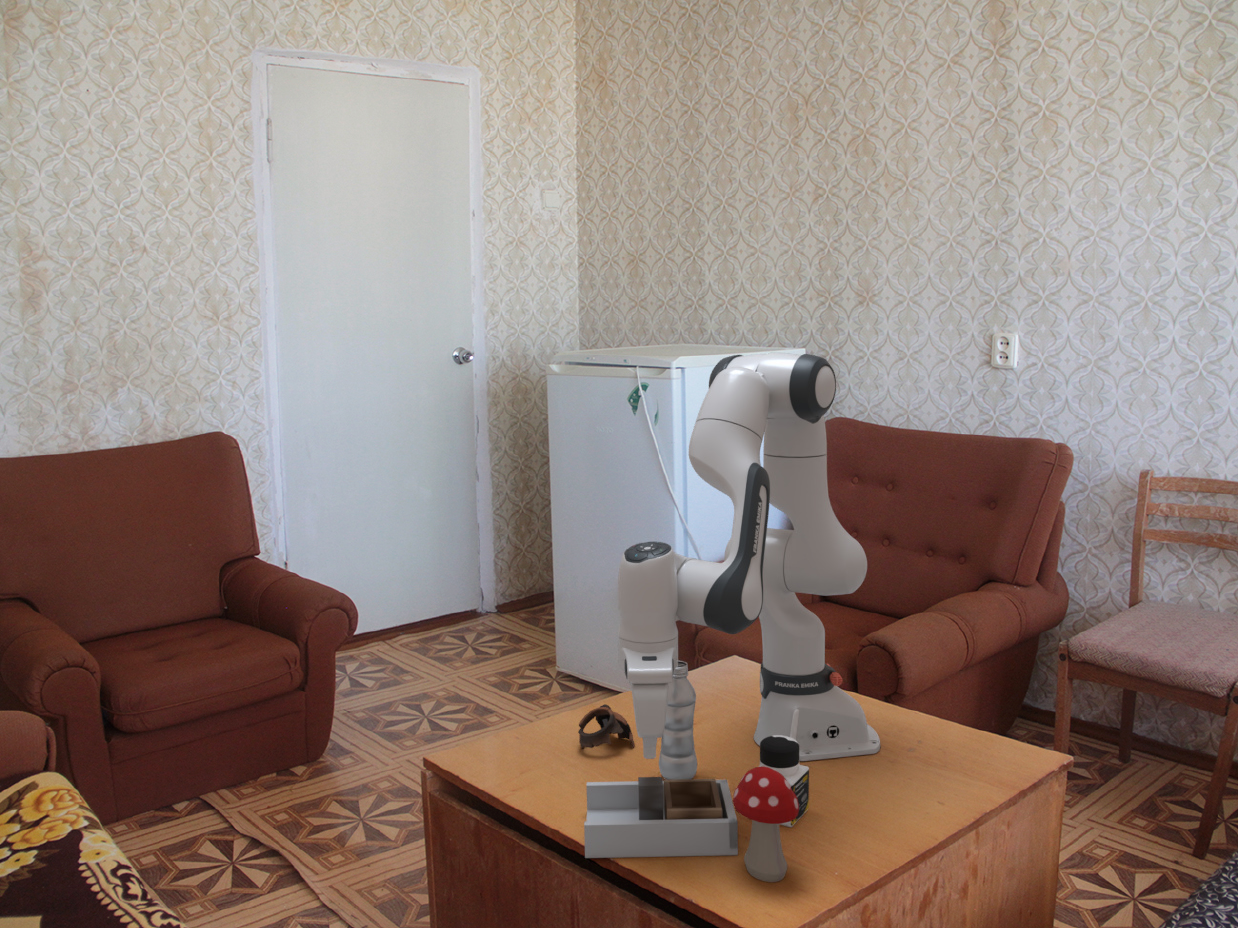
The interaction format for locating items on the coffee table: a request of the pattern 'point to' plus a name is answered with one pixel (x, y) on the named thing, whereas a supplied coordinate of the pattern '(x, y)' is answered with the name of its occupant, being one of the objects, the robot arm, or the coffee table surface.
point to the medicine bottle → (787, 768)
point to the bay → (652, 826)
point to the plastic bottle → (679, 729)
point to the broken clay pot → (604, 727)
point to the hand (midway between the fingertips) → (648, 744)
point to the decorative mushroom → (765, 820)
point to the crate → (678, 799)
